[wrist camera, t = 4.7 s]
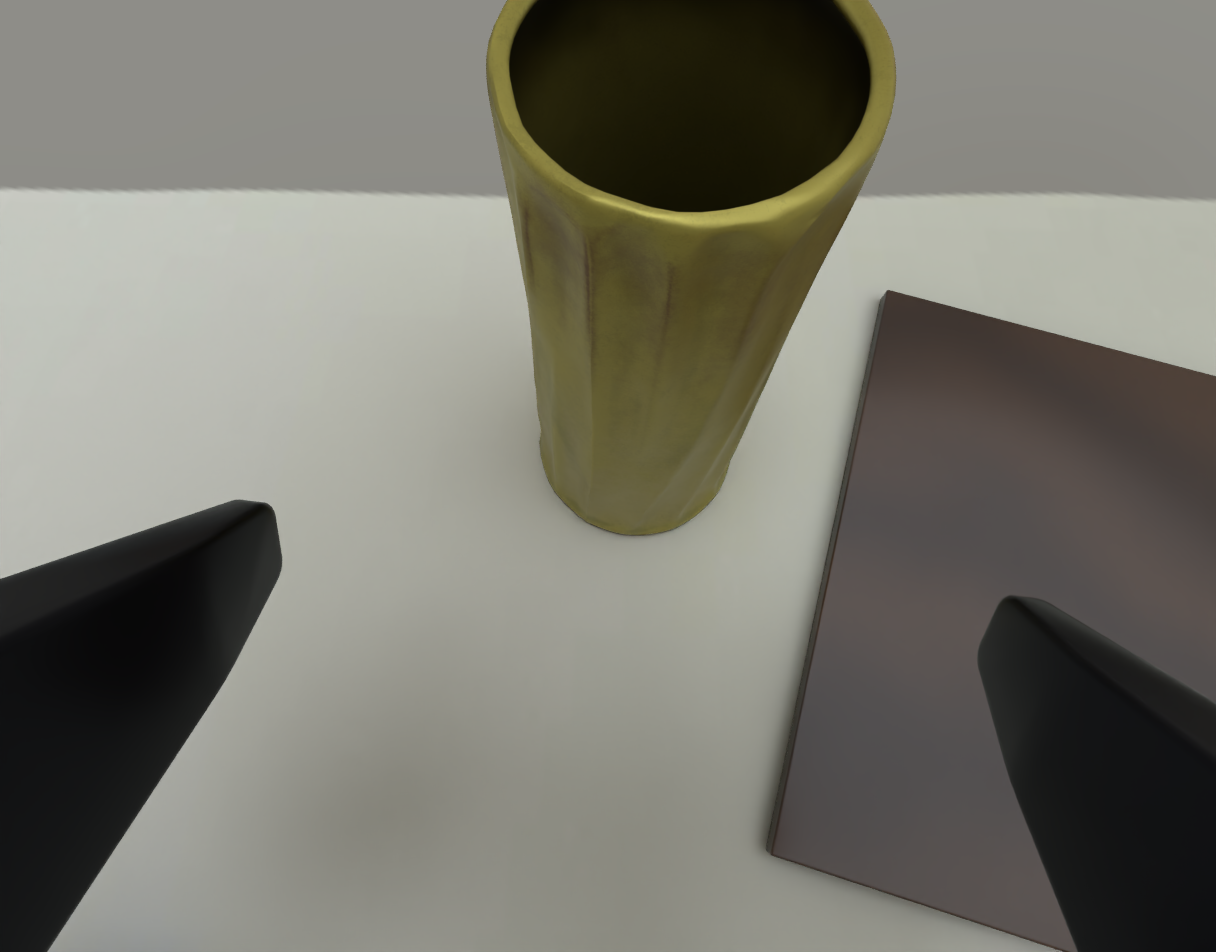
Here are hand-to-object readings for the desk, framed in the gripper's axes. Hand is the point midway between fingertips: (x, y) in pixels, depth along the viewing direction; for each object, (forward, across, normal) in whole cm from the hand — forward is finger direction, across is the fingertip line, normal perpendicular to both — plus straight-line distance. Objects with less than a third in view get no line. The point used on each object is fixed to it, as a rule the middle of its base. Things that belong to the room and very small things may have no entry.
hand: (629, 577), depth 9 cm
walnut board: (+11, -12, +7) cm, 18 cm away
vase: (+13, 0, +4) cm, 14 cm away
